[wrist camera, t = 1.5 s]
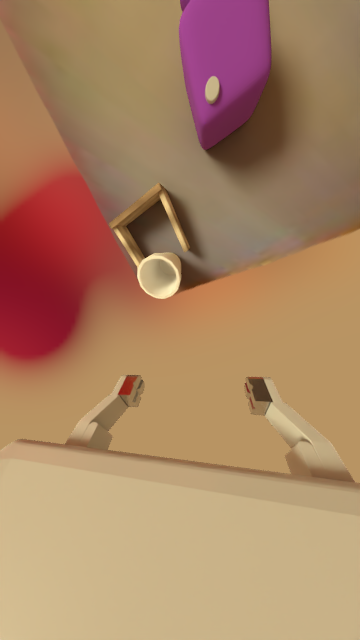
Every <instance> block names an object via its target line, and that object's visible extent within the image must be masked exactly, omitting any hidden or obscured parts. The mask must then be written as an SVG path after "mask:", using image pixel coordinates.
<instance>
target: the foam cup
mask: <svg viewBox="0 0 360 640" xmlns="http://www.w3.org/2000/svg"><path fill="white" fill-rule="evenodd" d="M181 277H182V276H181V262H180V259H179V257H178V256H177V255H176V254H174V253H154V254H152V255H150V256H148V257H147V258H145V259H143V260H142V262H141V263H140V265H139V267H138V274H137V278H138V281H139V283H140V286H141V287H142V288H143V290H144V291H145V292H146V293H147V294H149V295H151V296H153V297H155V298H162V299H165V298H167V297H170V296H172V295H173V294H174V293H175V292H176V291H177V290H178V288H179V285H180V281H181Z"/></svg>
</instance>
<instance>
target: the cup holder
mask: <svg viewBox="0 0 360 640" xmlns="http://www.w3.org/2000/svg"><path fill="white" fill-rule="evenodd" d="M159 200H161V201H162V203H163V205H164V207H165V210H166V212H167V214H168V217H169V219H170V221H171V223H172V226H173V228H174V230H175V232H176V235H177V237H178V239H179V241H180V244H181V246H182V248H183V250H184V252H186V251H188V250H189V248H190V246H189V244H188V242H187V239H186V237H185V234H184V232H183V230H182V227H181V225H180V222H179V220H178V218H177V215H176V213H175V210H174V208H173V206H172V203H171V201H170V198H169V196H168V194H167V191H166V189H165V188H164V187H163V186H162V185H161V184H160V183H158V184H157V185H155V186H154V187H153V188H152V189H151V190H149V191H148V192H147V193H146V194H144V195H143V196H142V197H141V198H140V199H138V200H137V201H136V202H135V203H134V204H132V205H131V206H130V207H129V208H127V209H126V210H125V211H124V212H123V213H121V214H120V215H119V216H118V217H117V218H115V219H114V220H113V221H112V222H110V223H109V225H110V227H111V228H112V229H114V231H115V232H116V234H117V236H118V237H119V239H120V240H121V242H122V243H123V245H124V247H125V248H126V250H127V251H128V253H129V254H130V256H131V258H132V259H133V261H134V262H135V264H136V265H137V267H139V265H140V263H141V262H142V260H143V259H145V257H144V256H143V254H142V252H141V250H140V249H139V247H138V245H137V244H136V242H135V240H134V239H133V237H132V235H131V234H130V232H129V230H128V228H127V227H126V226H127V225H128V224H129V223H130V222H132V221H133V220H134V219H136V218H137V217H138V216H140V215H141V214H142V213H144V212H145V211H146V210H148V209H149V208H150V207H151V206H153V205H154V204H155V203H157V202H158V201H159Z"/></svg>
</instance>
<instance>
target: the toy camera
mask: <svg viewBox="0 0 360 640" xmlns="http://www.w3.org/2000/svg"><path fill="white" fill-rule="evenodd" d="M180 4H181V9H182V11H183V13H182V16H181V19H180V26H179V38H180V49H181V57H182V65H183V72H184V79H185V85H186V90H187V94H188V99H189V103H190V107H191V111H192V115H193V119H194V123H195V127H196V131H197V134H198V138H199V141H200V144H201V146H202V148H203V149H204V150H207V149H209V148H211V147H213V146H214V145H216V144H217V143H218V142H220V141H221V140H222V139H224V138H225V137H226V136H228V135H229V134H231V133H232V132H233V131H235V130H236V129H237V128H239V127H240V126H241V125H243V124H244V123H245V122H246V121H247V120H248V119H249V118H250V117H251V115H252V114H253V112H254V110H255V108H256V105H257V103H258V101H259V98H260V96H261V94H262V92H263V89H264V87H265V85H266V82H267V80H268V77H269V73H270V69H271V35H270V16H269V0H180Z"/></svg>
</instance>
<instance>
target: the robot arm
mask: <svg viewBox="0 0 360 640" xmlns="http://www.w3.org/2000/svg"><path fill="white" fill-rule="evenodd" d="M244 387H245V393H246V397H247V398H248V399H249V403H248V405H249V408H250V412H251V414H254V415H265V417H266V418H267V419H268V421H269V422H270V423H271V424H272V426H273V427H274V428H275V429H276V430H277V432H278V433H279V434H280V435H281V436H282V437H283V439H284V440H285V441H286V442H287V444H288V445H289V446H290V447H291V450H290V451H289V452H288V453H287V454H286V455H285V458H286V461H287V463H288V466H289V469H290V472H291V474H287V473H278V472H271V471H264V470H256V469H249V468H241V467H233V466H225V465H217V464H210V463H203V462H195V461H188V460H179V459H172V458H164V457H157V456H149V455H142V454H134V453H126V452H119V451H111V450H108V447H109V445H110V442H111V440H112V435H111V434H110V433H109V432H108V431H109V429H110V428H111V427H112V426H113V425H114V423H115V422H116V421H117V420H118V419H119V418H120V416H121V415H122V414H123V413H124V412H125V410H126V409H127V408H128V407H138V406H139V403H140V400H141V397H140V395H141V394H142V393H143V391H144V381H143V380H141V376H140V375H122V376H121V377H120V379H119V381H118V383H117V385H116V386H115V388H114V390H113V392H112V394H111V395H108V396H107V397H106V398H105V399H104V400H103V401H102V402H100V403H99V404H98V405H97V406H96V407H95V408H93V409H92V410H91V411H90V412H89V413H88V414H86V415H85V416H84V417H83V418H82V419H81V420H80V421H79V422H78V424H77V426H76V427H75V429H74V430H73V432H72V434H71V435H70V437H69V438H68V440H67V442H66V443H65V444H57V443H50V442H42V441H35V440H27V439H18V440H16V441H14V442H12V443H10V444H9V445H7V446H6V447H4V448H3V449H1V450H0V640H360V483H355V481H354V480H353V478H352V476H351V475H350V473H349V472H348V470H347V468H346V467H345V465H344V464H343V462H342V460H341V458H340V457H339V455H338V453H337V452H336V450H335V448H334V447H333V446H332V444H331V443H330V442H329V441H328V440H327V439H326V438H325V437H324V436H322V435H321V434H320V433H319V432H318V431H317V430H316V429H315V428H313V427H312V426H311V425H310V424H309V423H308V422H307V421H306V420H304V419H303V418H302V417H301V416H300V415H299V414H298V413H296V412H295V411H294V410H293V409H292V408H291V407H290V406H289V405H287V404H286V403H283V401H282V399H281V397H280V395H279V393H278V391H277V389H276V387H275V385H274V383H273V381H272V379H271V378H270V377H246V383H245V386H244Z"/></svg>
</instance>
